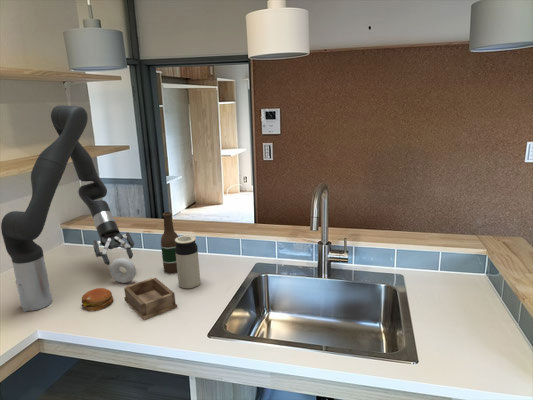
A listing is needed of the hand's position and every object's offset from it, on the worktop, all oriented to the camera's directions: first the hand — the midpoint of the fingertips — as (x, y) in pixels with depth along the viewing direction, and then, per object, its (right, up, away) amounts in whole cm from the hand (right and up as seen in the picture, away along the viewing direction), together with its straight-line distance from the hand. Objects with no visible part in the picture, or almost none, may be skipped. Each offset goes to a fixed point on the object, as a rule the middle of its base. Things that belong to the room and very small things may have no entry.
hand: (120, 261), depth 154 cm
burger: (-2, -13, -15) cm, 20 cm away
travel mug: (+27, -8, -3) cm, 28 cm away
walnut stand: (+16, -12, -16) cm, 26 cm away
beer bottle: (+18, -5, +10) cm, 21 cm away
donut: (+2, -8, 0) cm, 9 cm away
